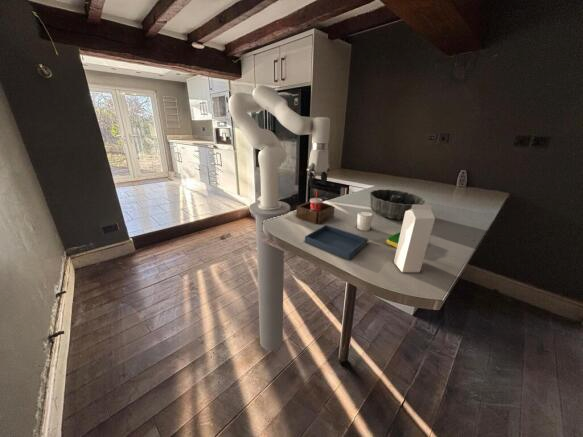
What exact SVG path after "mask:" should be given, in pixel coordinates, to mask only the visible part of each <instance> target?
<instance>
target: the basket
mask: <svg viewBox="0 0 583 437" xmlns="http://www.w3.org/2000/svg"><path fill="white" fill-rule="evenodd" d="M335 208H336V207H335V206H334V205H332V204H329V203H325V202H322V204H321V211H320V212H317V211H313V210H311V202H310V200H309V201H305V202H304V203H301V204H298V205H296V213H295V214H296V216H295V217H297V218H298V219H301V220H303V221H307V222H309V223H313V224H317V225H321V224H324V223H325V222H327V221H329V220H330V219H332V218H334V217H335Z"/></svg>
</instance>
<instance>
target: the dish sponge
mask: <svg viewBox="0 0 583 437" xmlns="http://www.w3.org/2000/svg"><path fill="white" fill-rule="evenodd" d="M400 233H401V231H400V232H397V233H395V234H393V235H391V236H389V237H387V239H386V244H387V245H389V246H391V247H394V248H396V249H397V246H398V242H399V237H400Z"/></svg>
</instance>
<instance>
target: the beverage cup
mask: <svg viewBox="0 0 583 437" xmlns="http://www.w3.org/2000/svg"><path fill="white" fill-rule="evenodd" d="M309 201H310V202H311V210H313V211H317V212H320V211H321V204H322V203H323V199H322V198H320V197H318V189H316V191H315V197H312V198H310V199H309Z"/></svg>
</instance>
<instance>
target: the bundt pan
mask: <svg viewBox="0 0 583 437" xmlns="http://www.w3.org/2000/svg"><path fill="white" fill-rule="evenodd" d="M369 199H370V202H369V203H370V209H371V211H372V212H373V213H375V214H377V215H379V216H382V217H383V218H388V219H391V220H393V219H396V220H397V221H400V220H404V215H405V211H407V210H411V209H412V205H414V204H418V205H424V203H425V202H426V200H425V199H424V198H423V197H421V196H419V195H417V194H414V193H410V192H407V191H403V190H397V189H376V190H375V189H373V190H372V191H369Z"/></svg>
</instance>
